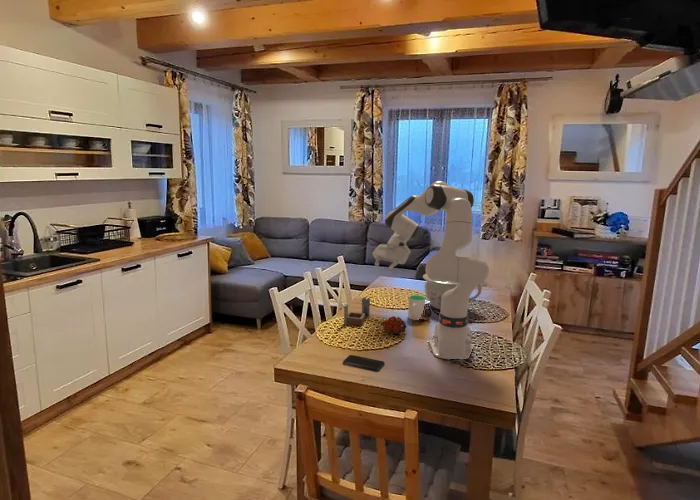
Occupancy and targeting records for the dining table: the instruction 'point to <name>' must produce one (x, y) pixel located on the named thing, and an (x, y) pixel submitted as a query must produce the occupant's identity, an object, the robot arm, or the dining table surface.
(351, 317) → the keeper
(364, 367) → the phone
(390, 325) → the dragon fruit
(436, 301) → the chamber pot
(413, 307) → the mug
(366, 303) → the steel toggle
